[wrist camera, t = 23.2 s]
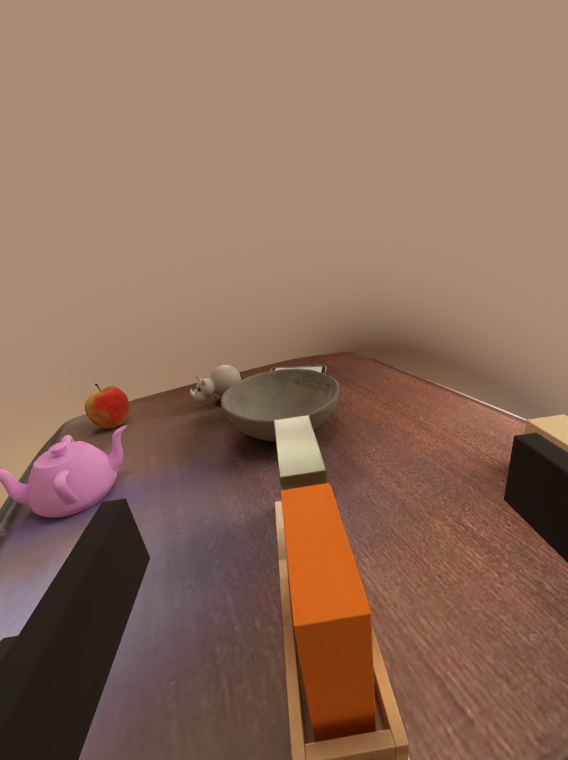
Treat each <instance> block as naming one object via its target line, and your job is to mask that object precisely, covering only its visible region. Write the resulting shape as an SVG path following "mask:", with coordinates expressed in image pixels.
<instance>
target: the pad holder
mask: <svg viewBox="0 0 568 760" xmlns="http://www.w3.org/2000/svg"><path fill="white" fill-rule="evenodd" d="M274 426H275V436H276V446H277V456H278V466H279V477H280V483H281V489H282V490H287V489H294V488H300V487H306V486H313V485H319V484H326V483H327V473H326V468H325V465H324V462H323V459H322V455H321V452H320V449H319V446H318V443H317V440H316V437H315V434H314V430H313V427H312V424H311V421H310V418H309V415H307V416H300V417H294V418H287V419H281V420H274ZM275 516H276V530H277V545H278V560H279V561H278V562H279V577H280V592H281V607H282V622H283V636H284V651H285V666H286V681H287V696H288V711H289V725H290V740H291V755H292V760H410V758H409V755H408V754H409V743H408V740H407V736H406V733H405V730H404V727H403V724H402V720H401V717H400V714H399V711H398V707H397V704H396V701H395V698H394V694H393V691H392V688H391V685H390V682H389V678H388V675H387V672H386V669H385V665H384V662H383V659H382V656H381V652H380V649H379V646H378V643H377V639H376V636H375V633H374V630H373V627H372V647H373V672H374V697H375V723H376V731H375V732H369V733H364V734H358V735H352V736H347V737H341V738H335V739H330V740H324V741H318V742H315V740H314V734H313V729H312V723H311V718H310V713H309V707H308V702H307V696H306V691H305V686H304V680H303V675H302V669H301V664H300V659H299V653H298V648H297V642H296V637H295V632H294V626H293V616H292V605H291V595H290V585H289V574H288V564H287V553H286V543H285V532H284V522H283V512H282V501H277V502H275Z"/></svg>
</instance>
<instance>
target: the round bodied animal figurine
mask: <svg viewBox="0 0 568 760" xmlns="http://www.w3.org/2000/svg"><path fill="white" fill-rule="evenodd" d="M197 379H198V383H197V384H196V386H197V389H196V390H194V391H195V392H193V391H192V389H191V390H190V393H191V395H192V396H193V399H194V400H195V401H196V402H203V401H204V400H205V399H206V398H207V397H210V396H212V395H213V394H214V393H216V399H217V400H221V398H222V396H223V394H224V392H225V391H226V390H227V389H229V388H230V387H232V386H233V385H234V384H236V383H238V382H239V381H241V377H240V373H239V371H238V370H236V369H235V368H234V367H232V366H229V365H220V366H218V367H216V368H215V369H213V371H212V372H211V374H210V377H209V379H201V378H200V377H197Z"/></svg>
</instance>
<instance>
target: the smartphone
mask: <svg viewBox="0 0 568 760" xmlns="http://www.w3.org/2000/svg"><path fill="white" fill-rule="evenodd" d="M281 369H309V370H314V371H318V372H321V373H324V374H326V366H300V367H275V368H272V369H271V371H274V370H281Z"/></svg>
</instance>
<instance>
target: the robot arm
mask: <svg viewBox="0 0 568 760" xmlns="http://www.w3.org/2000/svg"><path fill="white" fill-rule="evenodd" d="M504 500H505V501H506V502H507V503H508V504H509V505H510V506H511V507H512V508H513V509H514V510H515V511H516V512H517V513H518V514H519V515H520V516H521V517H522V518H523V519H524V520H525V521H526V522H527V523H528V524H529V525H530V526H531V527H532V528H533V529H534V530H535V531H536V532H537V533H538V534H539V535H540V536H541V537H542V538H543V539H544V540H545V541H546V542H547V543H548V544H549V545H550V546H551V547H552V548H553V549H554V550H555V551H556V552H557V553H558V554H559V555H560V556H561V557H562V558H563V559H564V560H566V561H567V562H568V452H566V451H565V450H563V449H562V448H560V447H558V446H557V445H555V444H554V443H552V442H551V441H549V440H547V439H546V438H544V437H543V436H541V435H540V434H538V433H530V434H523V435H517V436H514V441H513V447H512V453H511V459H510V465H509V472H508V478H507V484H506V490H505V496H504ZM149 560H150V556H149V554H148V552H147V549H146V547H145V544H144V542H143V539H142V537H141V535H140V532H139V530H138V527H137V525H136V522H135V520H134V518H133V515H132V513H131V510H130V508H129V505H128V503H127V501H126V498H125V499H119V500H113V501H107V502H102V503H101V505H100V507H99V508H98V510H97V511H96V513H95V515H94V516H93V518H92V519H91V521H90V523H89V524H88V526H87V527H86V529H85V530H84V532H83V534H82V535H81V537H80V538H79V540H78V542H77V543H76V545H75V546H74V548H73V550H72V551H71V553H70V554H69V556H68V557H67V559H66V561H65V562H64V564H63V565H62V567H61V569H60V570H59V572H58V573H57V575H56V577H55V578H54V580H53V581H52V583H51V584H50V586H49V588H48V589H47V591H46V592H45V594H44V596H43V597H42V599H41V600H40V602H39V604H38V605H37V607H36V608H35V610H34V611H33V613H32V615H31V616H30V618H29V619H28V621H27V623H26V624H25V626H24V627H23V629H22V631H21V632H20V634H19V635H18V636H14V637H8V638H3V639H2V640H1V641H0V760H78V759H79V756H80V754H81V751H82V748H83V745H84V742H85V740H86V737H87V734H88V731H89V728H90V726H91V723H92V720H93V717H94V714H95V711H96V709H97V706H98V703H99V700H100V697H101V695H102V692H103V689H104V686H105V683H106V681H107V678H108V675H109V672H110V669H111V666H112V664H113V661H114V658H115V655H116V652H117V650H118V647H119V644H120V641H121V638H122V636H123V633H124V630H125V627H126V624H127V622H128V619H129V616H130V613H131V610H132V607H133V605H134V602H135V599H136V596H137V593H138V591H139V588H140V585H141V582H142V579H143V577H144V574H145V571H146V568H147V565H148V562H149Z"/></svg>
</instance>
